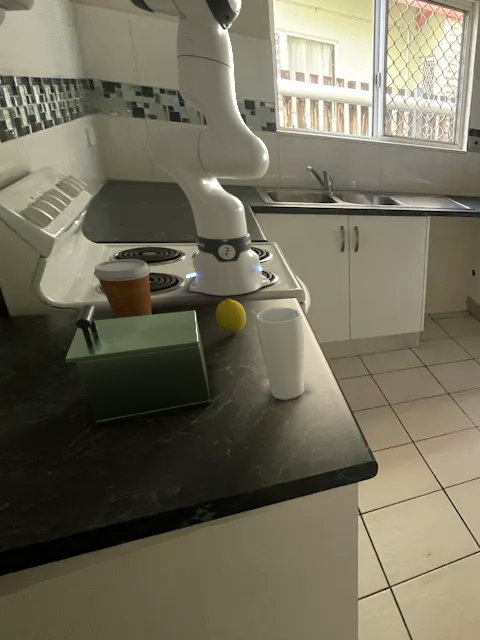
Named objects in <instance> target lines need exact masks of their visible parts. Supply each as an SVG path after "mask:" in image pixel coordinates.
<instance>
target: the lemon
mask: <svg viewBox="0 0 480 640" xmlns="http://www.w3.org/2000/svg"><path fill="white" fill-rule="evenodd" d="M215 320H216V323H217V325H218V327H219V328H220V329H221V330H223V331H225V332H227V333H230V334H232V335H235V334H236V333H238V332H239V331H241V330H242V329H243V328H244V327H245V325H246V324H247V323H246V322H247V314H246V311H245V309H244V307H243V305H242V304H241V303H240V302H238V301H237V300H235V299H234V300H233V299H231V298H226V299H225V300H223V301H221V302H220V303H219V304H218V305H217V307H216V310H215Z"/></svg>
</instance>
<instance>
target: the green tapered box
mask: <svg viewBox="0 0 480 640" xmlns="http://www.w3.org/2000/svg"><path fill="white" fill-rule="evenodd" d="M196 321H197V331H198V342H199V346H192V347H185V348H178V349H170V350H163V351H155V352H148V353H140V354H133V355H125V356H118V357H111V358H103V359H96V360H88V361H81V362H76V366H77V369H78V371H79V374H80V378H81V381H82V384H83V387H84V390H85V393H86V397H87V400H88V403H89V405H90V408H91V412H92V416H93V417H94V421H95V424H96V426H97V427H98V426H103V425H104V426H105V425H109V424H116V423H120V422H125V421H130V420H136V419H140V418H146V417H151V416H156V415H157V416H158V415H161V414H167V413H173V412H178V411H182V410H187V409H193V408H199V407H204V406H209V405H211V396H210V389H209V388H210V387H209V379H208V371H207V364H206V358H205V354H204V348H203V342H202V337H201V333H200V329H199V323H198V319H197V316H196Z"/></svg>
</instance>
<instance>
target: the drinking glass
mask: <svg viewBox="0 0 480 640" xmlns="http://www.w3.org/2000/svg"><path fill="white" fill-rule="evenodd" d="M302 319H303V317H302V312H301V311H300V310H298V309H295V308H291V307H273V308H267V309H264V310H261V311H260V312H258V313H257V314H256V328H257V334H258V335H257V336H258V341H259V346H260V349H261V354H262V357H263V362H264V366H265V370H266V374H267V378H268V383H269V389H270V394H271V396H272V397H273V398H275V399H277V400H280V401H281V400H283V401H289V400H293V399H296V398H298V397H300V396H301V395H303V393H304V391H305V383H304V347H305V346H304V343H305V342H304V341H305V340H304V326H303V325H304V324H303V320H302Z"/></svg>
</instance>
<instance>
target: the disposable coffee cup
mask: <svg viewBox="0 0 480 640" xmlns="http://www.w3.org/2000/svg"><path fill="white" fill-rule="evenodd" d="M150 273H151V267H150V266H149V265H148V264H147V262H146V261H144V260H141V259H134V258H133V259H132V258H131V259H130V258H128V259H127V258H125V259H114V260H113V259H112V260H107V261H103V262H100V263H98V264H96V265H95V266H94V271H93V275H94V276H95V278H96V279H97V280H98V282H99V284H100V286H101V288H102V290H103V293H104V295H105V297H106V299H107V301H108V304H109V306H110V308H111V310H112V313H113V315H114V317H115V318H125V317H135V316H145V315H153V314H152V301H151V300H152V299H151V297H152V296H151V285H150V284H151V283H150Z"/></svg>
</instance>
